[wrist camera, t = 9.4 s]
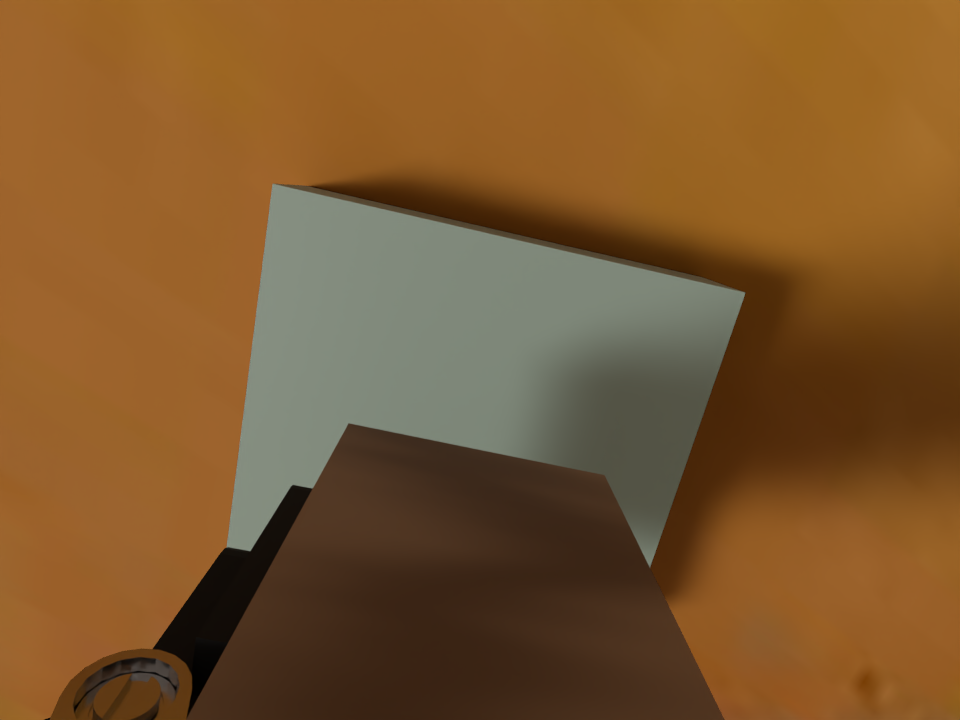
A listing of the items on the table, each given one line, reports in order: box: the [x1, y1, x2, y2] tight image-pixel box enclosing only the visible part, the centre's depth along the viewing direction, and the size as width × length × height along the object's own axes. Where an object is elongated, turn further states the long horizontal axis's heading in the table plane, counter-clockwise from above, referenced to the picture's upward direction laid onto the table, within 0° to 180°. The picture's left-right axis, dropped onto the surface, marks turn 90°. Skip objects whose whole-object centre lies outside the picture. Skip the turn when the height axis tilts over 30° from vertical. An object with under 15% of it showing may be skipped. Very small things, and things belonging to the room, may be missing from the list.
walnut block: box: [186, 423, 724, 720], centre depth 8 cm, size 5×5×7 cm
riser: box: [227, 184, 745, 567], centre depth 17 cm, size 12×12×3 cm
